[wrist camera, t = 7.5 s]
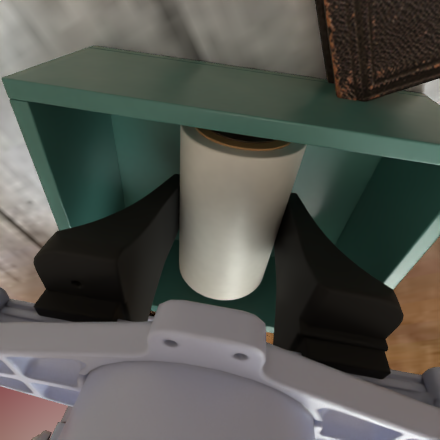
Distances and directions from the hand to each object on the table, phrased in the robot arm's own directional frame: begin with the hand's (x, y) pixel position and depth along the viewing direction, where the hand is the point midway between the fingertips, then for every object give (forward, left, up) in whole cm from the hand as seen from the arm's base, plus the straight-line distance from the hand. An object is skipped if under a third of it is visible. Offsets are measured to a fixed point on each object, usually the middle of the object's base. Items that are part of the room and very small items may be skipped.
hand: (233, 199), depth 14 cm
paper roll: (0, -2, +1) cm, 3 cm away
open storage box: (0, 0, -2) cm, 2 cm away
